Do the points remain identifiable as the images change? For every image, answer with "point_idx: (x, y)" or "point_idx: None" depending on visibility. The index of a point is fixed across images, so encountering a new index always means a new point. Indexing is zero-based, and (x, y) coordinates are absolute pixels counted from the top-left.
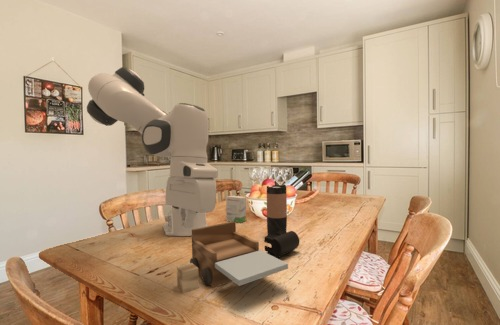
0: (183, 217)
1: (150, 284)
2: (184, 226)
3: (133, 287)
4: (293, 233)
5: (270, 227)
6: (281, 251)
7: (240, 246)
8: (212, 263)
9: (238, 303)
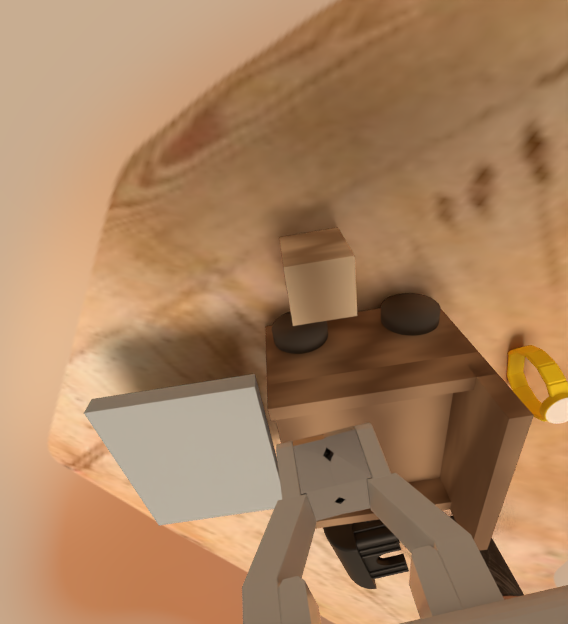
0: (381, 503)
1: (413, 126)
2: (298, 444)
3: (435, 41)
4: (360, 583)
5: None
6: None
7: None
8: (273, 377)
9: (153, 357)
